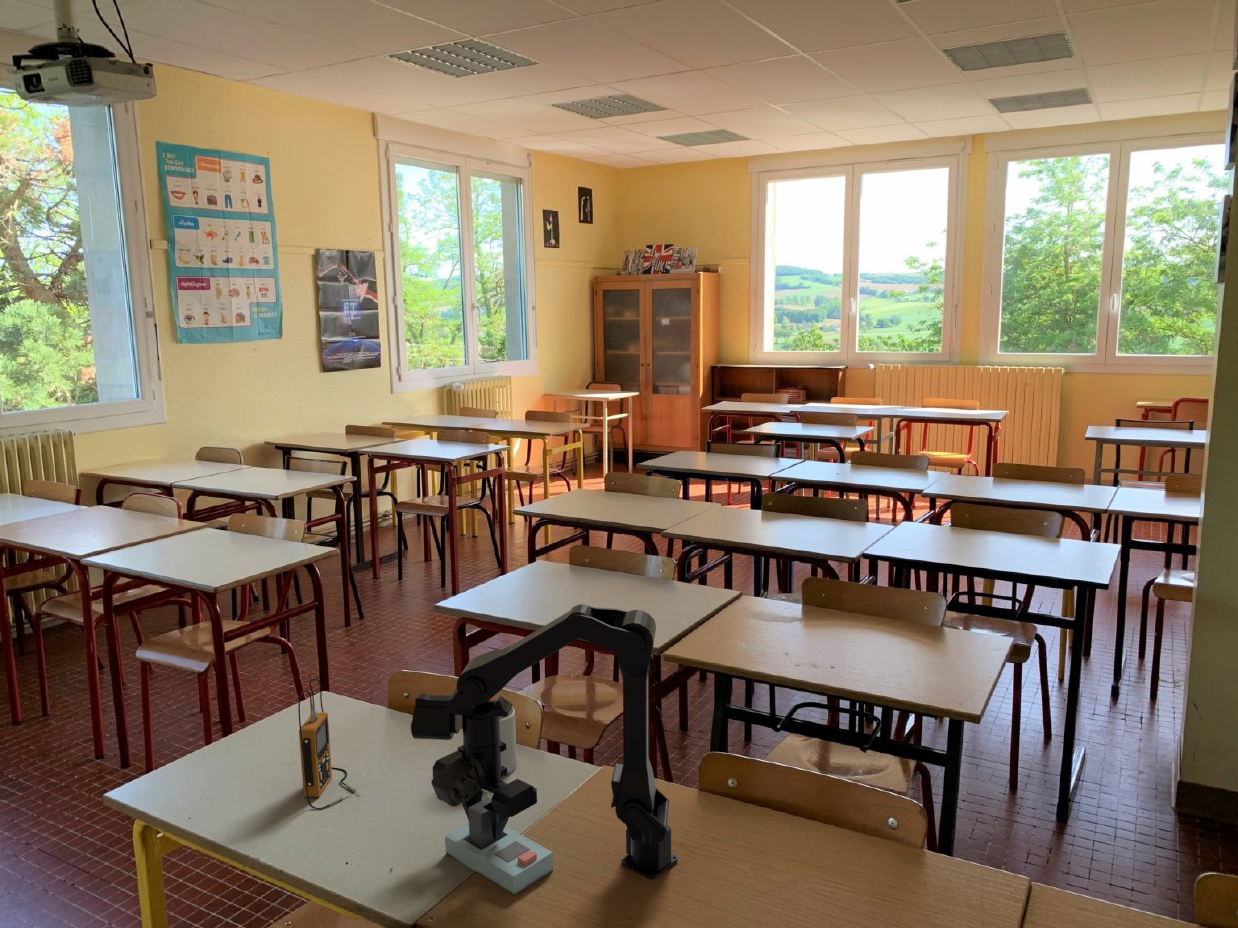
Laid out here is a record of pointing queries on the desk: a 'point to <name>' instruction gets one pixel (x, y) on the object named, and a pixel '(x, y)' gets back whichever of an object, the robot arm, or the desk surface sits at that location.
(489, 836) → the plug
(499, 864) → the power strip
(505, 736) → the mug
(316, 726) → the multimeter
